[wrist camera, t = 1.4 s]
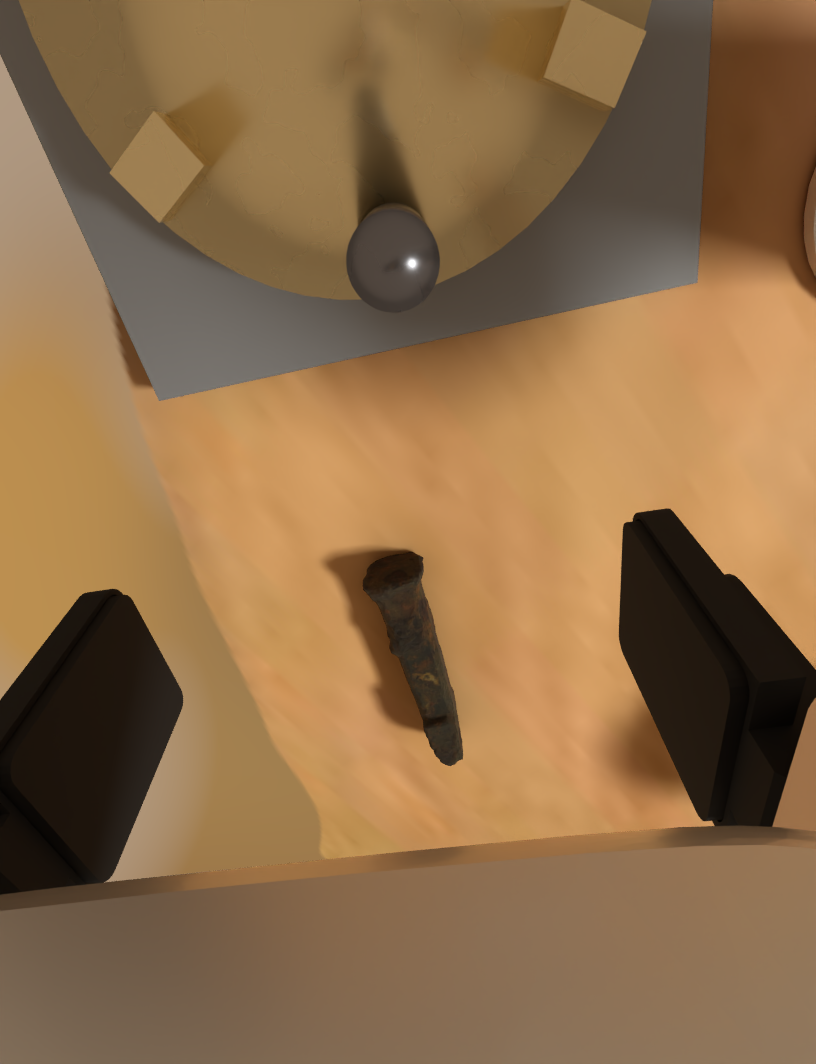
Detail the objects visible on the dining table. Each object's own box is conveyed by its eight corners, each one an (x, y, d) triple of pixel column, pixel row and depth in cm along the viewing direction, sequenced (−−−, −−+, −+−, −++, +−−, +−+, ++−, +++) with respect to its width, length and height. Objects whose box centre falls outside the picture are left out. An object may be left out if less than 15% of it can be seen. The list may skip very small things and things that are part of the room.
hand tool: (363, 555, 39) (359, 598, 35) (421, 544, 38) (423, 587, 34) (419, 733, 48) (420, 782, 45) (465, 726, 48) (471, 775, 44)
